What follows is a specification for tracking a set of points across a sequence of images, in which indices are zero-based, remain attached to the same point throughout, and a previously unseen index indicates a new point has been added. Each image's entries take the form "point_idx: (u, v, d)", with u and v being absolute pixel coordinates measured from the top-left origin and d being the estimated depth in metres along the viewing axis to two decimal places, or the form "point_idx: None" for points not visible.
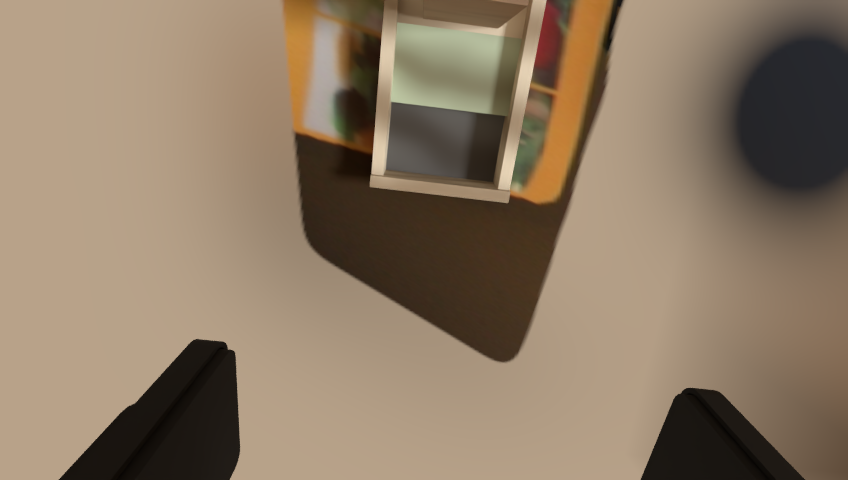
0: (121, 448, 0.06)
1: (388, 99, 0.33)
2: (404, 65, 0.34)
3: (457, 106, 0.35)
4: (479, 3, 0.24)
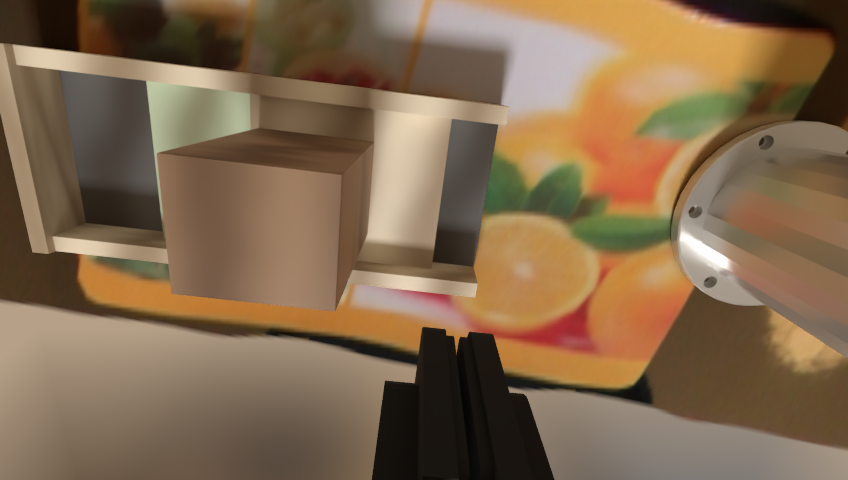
0: (442, 410, 0.07)
1: (132, 77, 0.23)
2: (198, 100, 0.24)
3: None
4: None
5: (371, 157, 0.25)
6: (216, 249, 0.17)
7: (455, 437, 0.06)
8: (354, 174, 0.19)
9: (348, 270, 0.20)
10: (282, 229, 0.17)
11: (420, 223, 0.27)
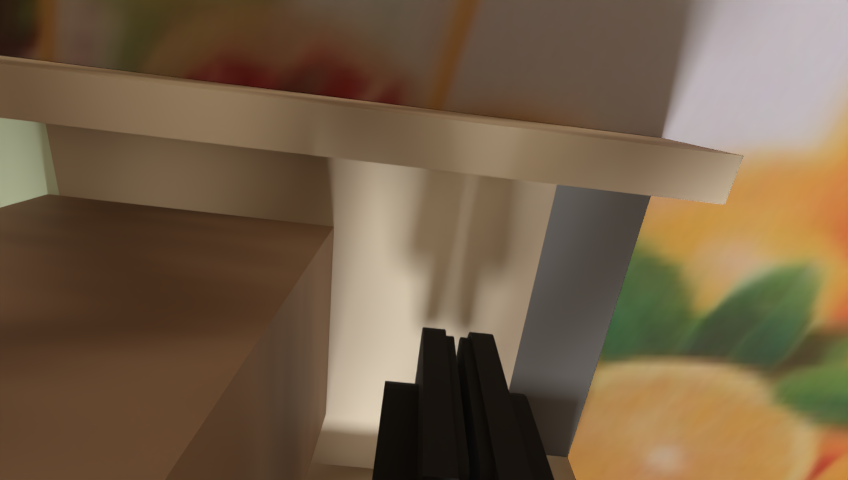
0: (442, 410, 0.07)
1: None
2: None
3: None
4: None
5: (324, 270, 0.10)
6: None
7: (455, 437, 0.06)
8: None
9: None
10: None
11: None
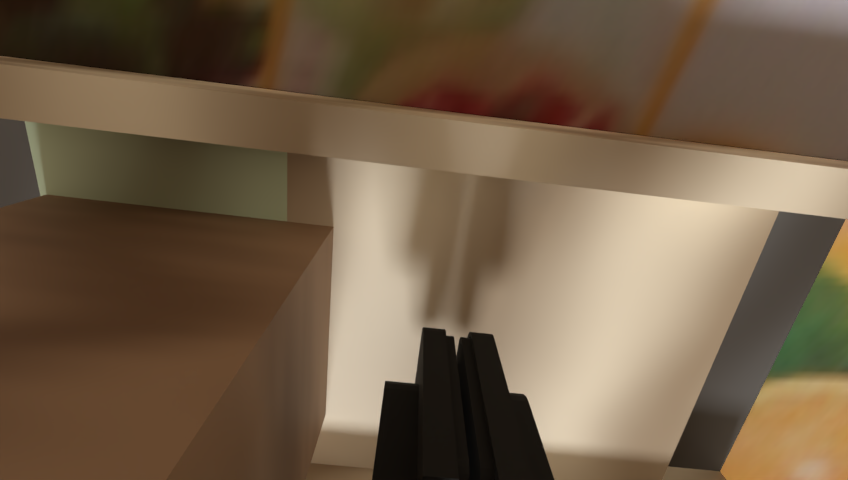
0: (442, 410, 0.07)
1: None
2: (157, 161, 0.10)
3: None
4: None
5: (324, 270, 0.10)
6: None
7: (455, 437, 0.06)
8: None
9: None
10: None
11: (652, 416, 0.12)
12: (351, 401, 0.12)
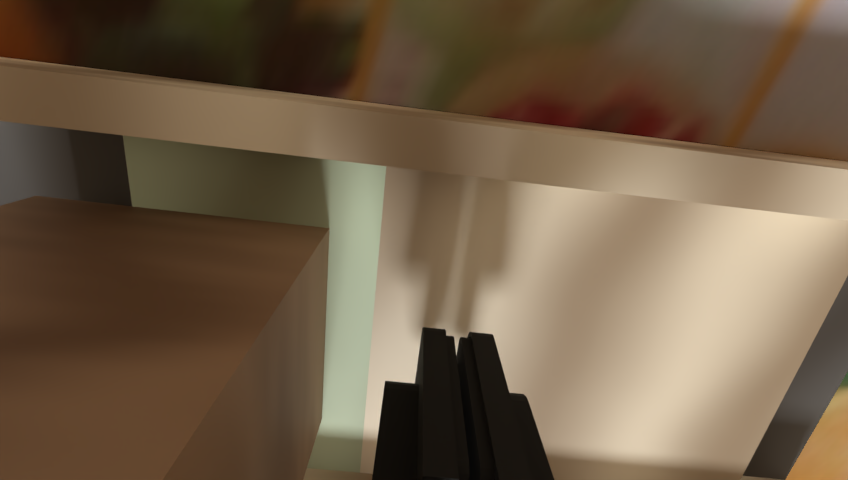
0: (442, 410, 0.07)
1: (77, 125, 0.08)
2: (254, 175, 0.10)
3: None
4: None
5: (320, 273, 0.10)
6: None
7: (455, 437, 0.06)
8: None
9: None
10: None
11: (730, 426, 0.12)
12: None
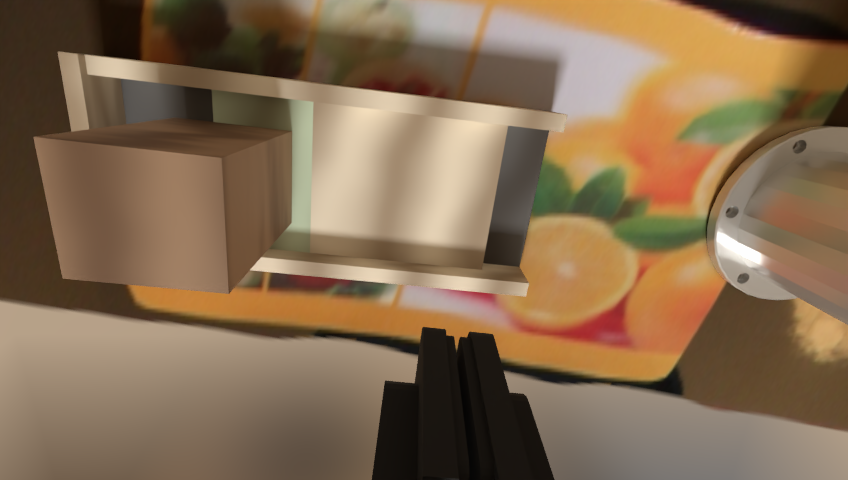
0: (442, 410, 0.07)
1: (203, 86, 0.23)
2: (262, 109, 0.25)
3: None
4: None
5: (288, 146, 0.25)
6: (103, 233, 0.17)
7: (455, 437, 0.06)
8: (251, 160, 0.19)
9: (253, 255, 0.21)
10: (167, 212, 0.17)
11: (473, 226, 0.28)
12: (339, 220, 0.28)
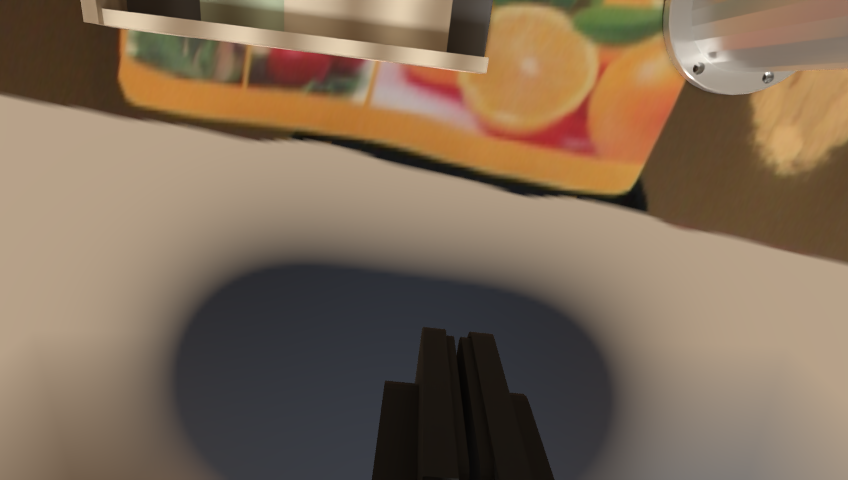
0: (442, 410, 0.07)
1: None
2: None
3: None
4: None
5: None
6: None
7: (455, 437, 0.06)
8: None
9: None
10: None
11: (436, 4, 0.30)
12: None
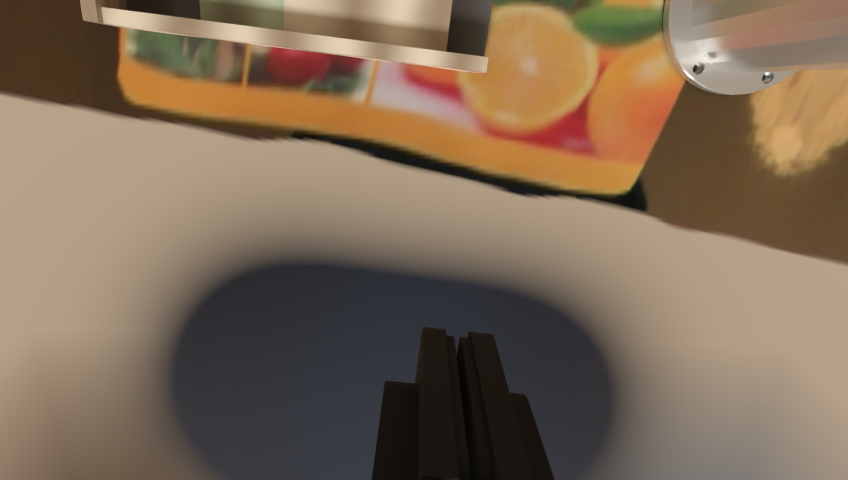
0: (442, 410, 0.07)
1: None
2: None
3: None
4: None
5: None
6: None
7: (455, 437, 0.06)
8: None
9: None
10: None
11: (436, 3, 0.30)
12: None
